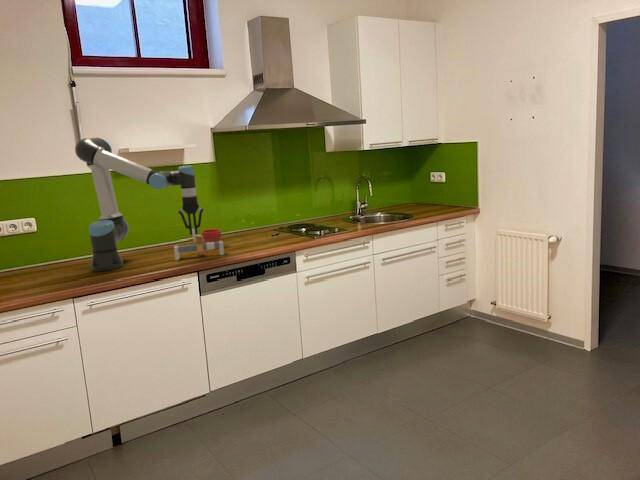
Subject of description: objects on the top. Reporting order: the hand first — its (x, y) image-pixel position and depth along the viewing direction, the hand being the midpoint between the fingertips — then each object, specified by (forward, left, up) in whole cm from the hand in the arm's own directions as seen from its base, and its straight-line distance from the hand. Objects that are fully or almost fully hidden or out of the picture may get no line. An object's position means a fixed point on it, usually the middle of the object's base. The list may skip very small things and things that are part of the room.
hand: (194, 240), depth 279 cm
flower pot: (+10, +21, -9) cm, 25 cm away
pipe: (+2, 0, -9) cm, 9 cm away
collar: (+2, 0, -7) cm, 7 cm away
